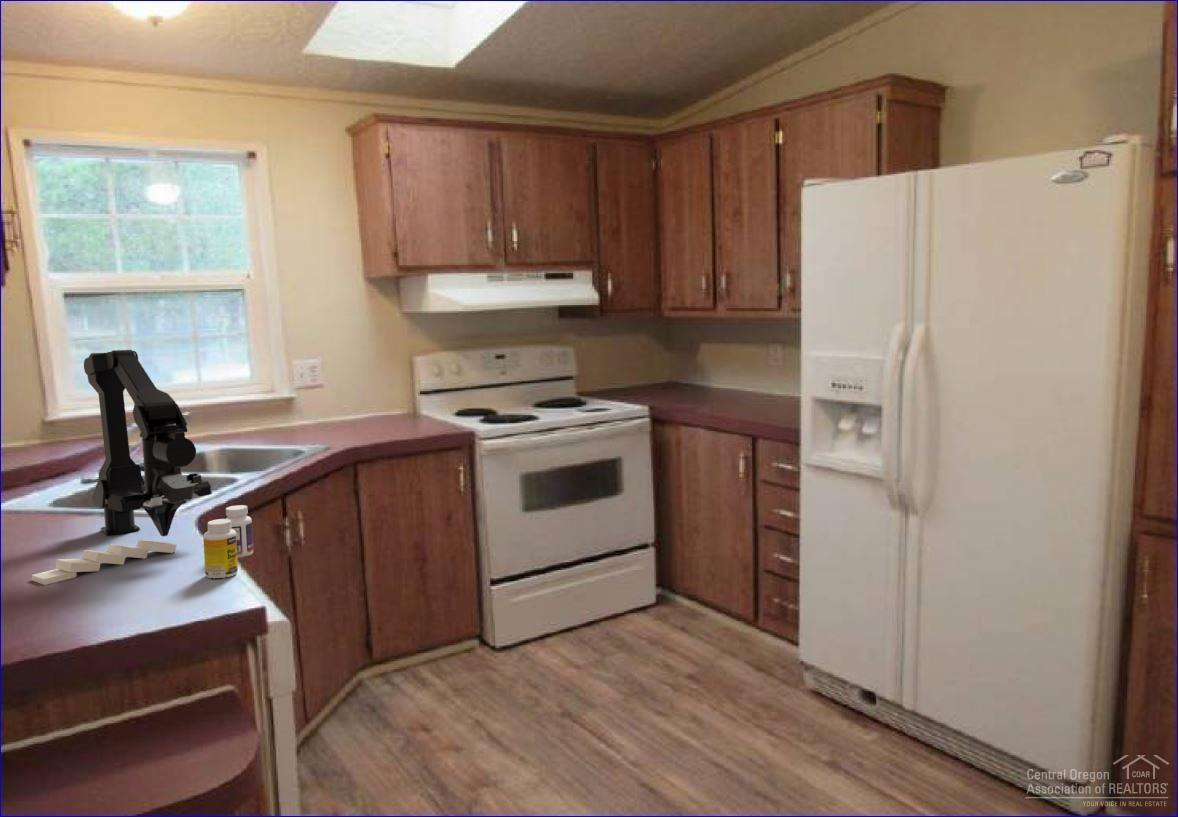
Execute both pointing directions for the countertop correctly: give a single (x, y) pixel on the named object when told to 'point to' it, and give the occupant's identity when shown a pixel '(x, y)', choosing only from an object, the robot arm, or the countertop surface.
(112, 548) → the domino
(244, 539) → the pill bottle
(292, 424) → the countertop surface
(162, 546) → the domino
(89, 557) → the domino
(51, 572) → the domino
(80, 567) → the domino
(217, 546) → the supplement bottle
